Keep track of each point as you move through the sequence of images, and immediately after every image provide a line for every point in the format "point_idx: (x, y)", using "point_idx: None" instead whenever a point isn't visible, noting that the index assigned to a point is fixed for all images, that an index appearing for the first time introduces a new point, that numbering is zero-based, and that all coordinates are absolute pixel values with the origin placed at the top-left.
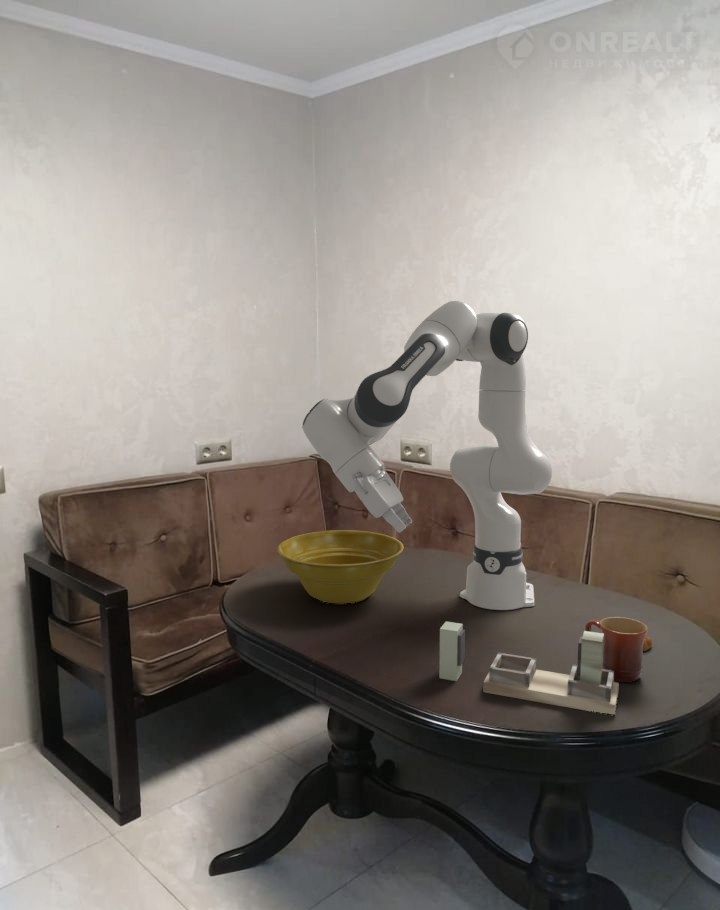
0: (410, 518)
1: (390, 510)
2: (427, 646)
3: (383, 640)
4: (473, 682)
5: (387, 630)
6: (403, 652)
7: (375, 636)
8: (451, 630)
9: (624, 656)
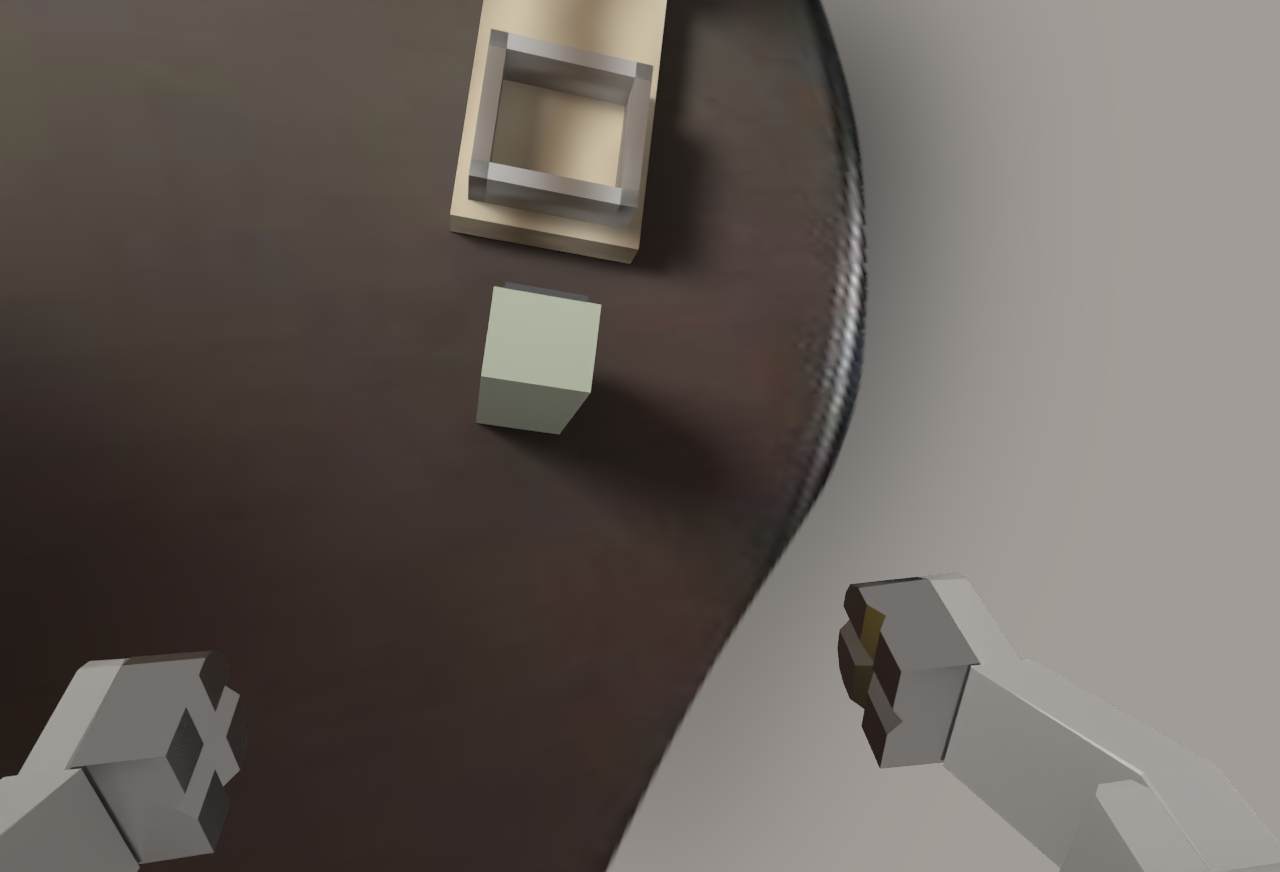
0: (93, 695)
1: (1274, 859)
2: (233, 542)
3: None
4: None
5: None
6: (334, 638)
7: None
8: (596, 333)
9: None
